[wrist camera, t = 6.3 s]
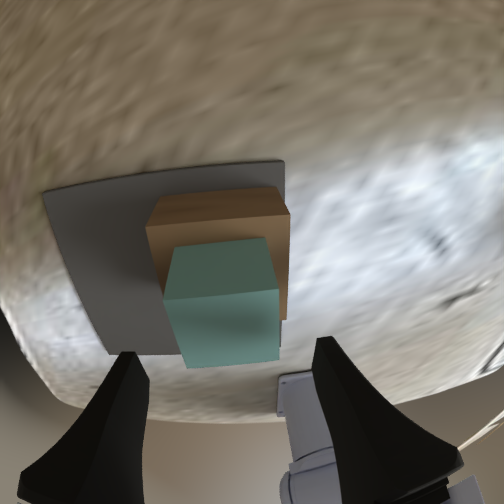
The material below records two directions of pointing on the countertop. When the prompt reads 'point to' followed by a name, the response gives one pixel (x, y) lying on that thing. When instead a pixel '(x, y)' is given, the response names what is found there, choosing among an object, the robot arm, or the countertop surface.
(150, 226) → the walnut block
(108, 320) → the mat
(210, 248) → the teal block
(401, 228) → the countertop surface
